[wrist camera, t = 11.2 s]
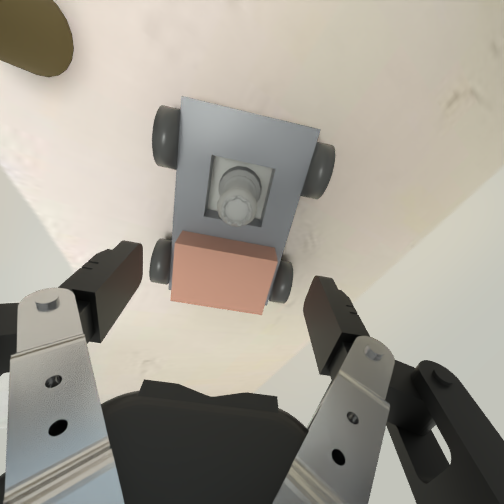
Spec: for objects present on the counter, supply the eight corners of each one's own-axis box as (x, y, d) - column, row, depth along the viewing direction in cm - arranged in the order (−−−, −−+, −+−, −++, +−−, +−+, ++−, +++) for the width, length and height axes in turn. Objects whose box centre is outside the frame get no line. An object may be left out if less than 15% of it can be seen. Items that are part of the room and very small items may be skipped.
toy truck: (328, 132, 24) (349, 135, 19) (276, 292, 34) (281, 325, 28) (171, 94, 23) (148, 86, 18) (162, 273, 32) (145, 304, 27)
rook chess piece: (237, 155, 25) (232, 169, 18) (270, 185, 26) (277, 209, 19) (210, 188, 26) (195, 214, 19) (242, 215, 28) (239, 248, 21)
